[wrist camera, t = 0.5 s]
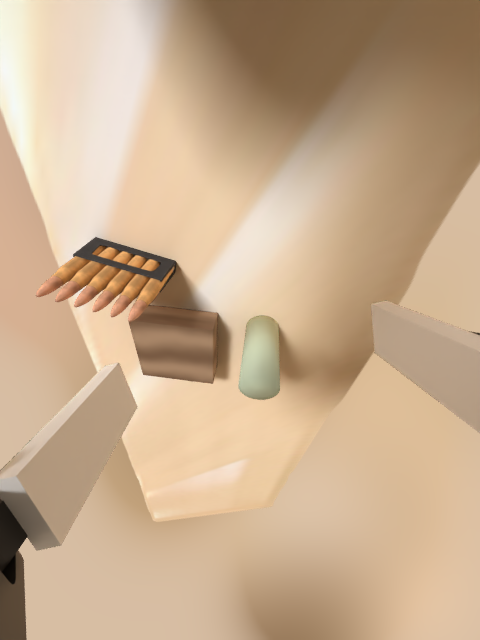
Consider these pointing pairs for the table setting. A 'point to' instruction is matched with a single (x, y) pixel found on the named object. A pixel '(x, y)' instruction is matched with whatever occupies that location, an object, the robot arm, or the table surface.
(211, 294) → the table surface
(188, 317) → the walnut plinth
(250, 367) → the sage cylinder
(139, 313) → the ammunition clip
